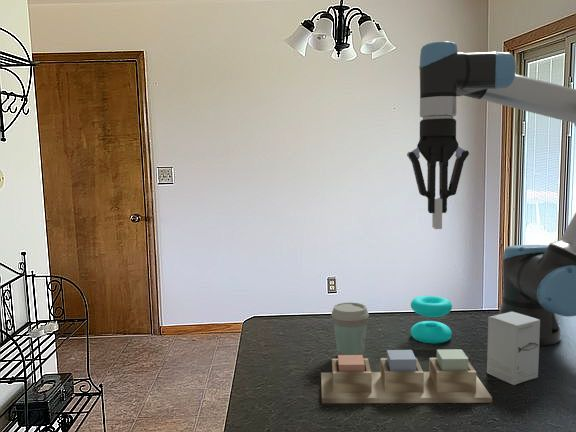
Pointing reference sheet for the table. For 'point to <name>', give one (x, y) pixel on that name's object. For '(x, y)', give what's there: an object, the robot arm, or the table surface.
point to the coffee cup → (350, 327)
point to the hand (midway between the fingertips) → (437, 227)
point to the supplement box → (513, 347)
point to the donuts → (431, 329)
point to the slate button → (401, 360)
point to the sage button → (452, 360)
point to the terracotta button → (350, 363)
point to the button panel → (403, 385)
